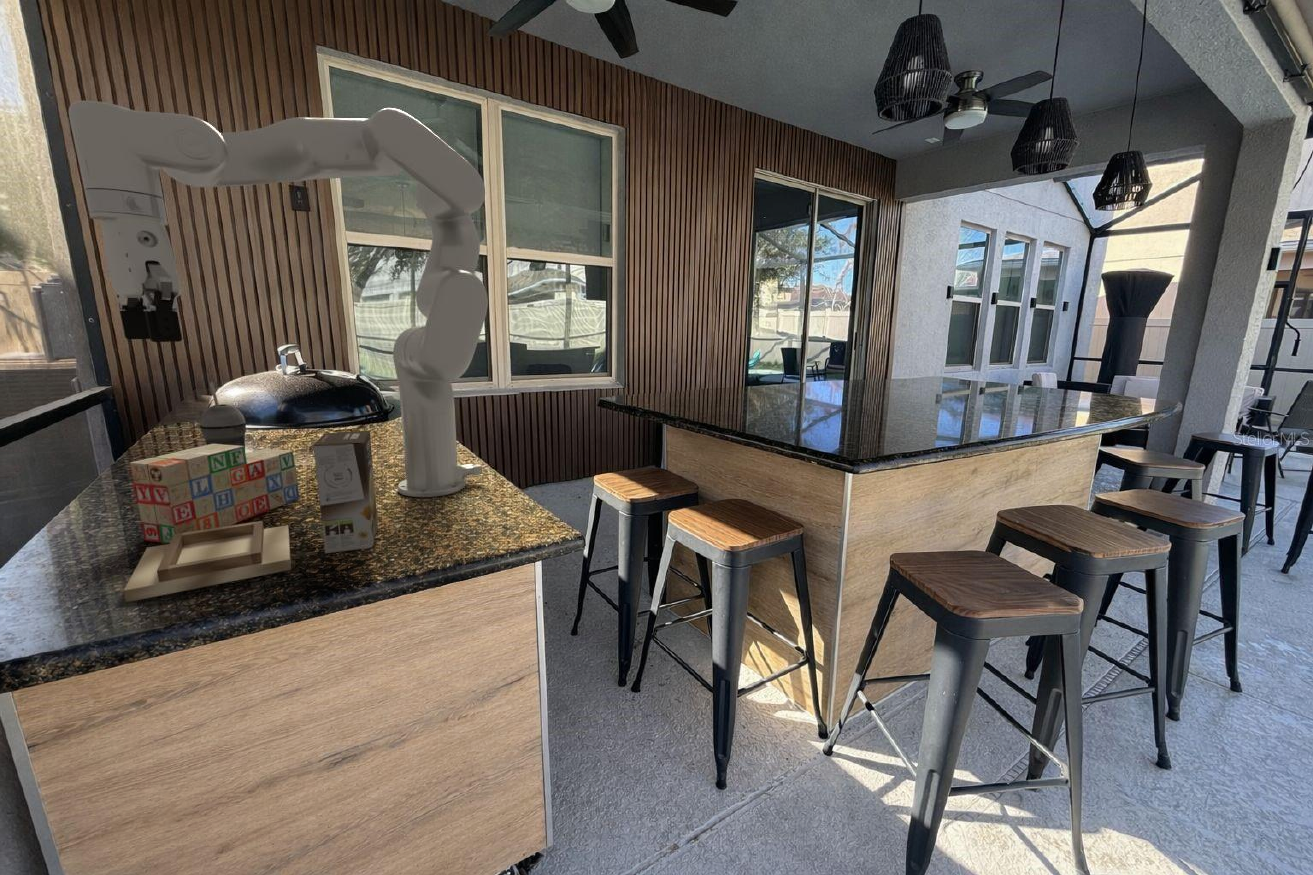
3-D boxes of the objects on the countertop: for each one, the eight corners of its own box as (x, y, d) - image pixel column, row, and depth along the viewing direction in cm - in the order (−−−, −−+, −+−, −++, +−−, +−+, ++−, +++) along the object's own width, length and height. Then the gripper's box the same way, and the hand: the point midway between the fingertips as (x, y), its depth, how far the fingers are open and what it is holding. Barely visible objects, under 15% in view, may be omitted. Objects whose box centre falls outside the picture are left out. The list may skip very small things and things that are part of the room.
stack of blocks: (271, 496, 99) (263, 432, 97) (300, 499, 98) (292, 434, 95) (143, 541, 79) (128, 461, 76) (177, 545, 78) (163, 464, 75)
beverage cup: (235, 487, 103) (220, 384, 99) (198, 486, 103) (181, 383, 99) (263, 476, 110) (250, 380, 106) (228, 475, 110) (213, 379, 106)
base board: (289, 534, 82) (286, 515, 82) (291, 569, 71) (288, 548, 71) (149, 557, 73) (145, 537, 73) (126, 602, 62) (121, 578, 62)
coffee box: (374, 548, 78) (364, 442, 75) (324, 554, 76) (311, 445, 72) (379, 526, 87) (370, 429, 83) (333, 531, 84) (322, 431, 81)
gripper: (190, 209, 70) (212, 342, 74) (142, 219, 78) (164, 337, 82) (111, 198, 63) (140, 344, 67) (68, 210, 72) (96, 338, 76)
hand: (153, 340), depth 75 cm, fingers open, 9 cm apart
